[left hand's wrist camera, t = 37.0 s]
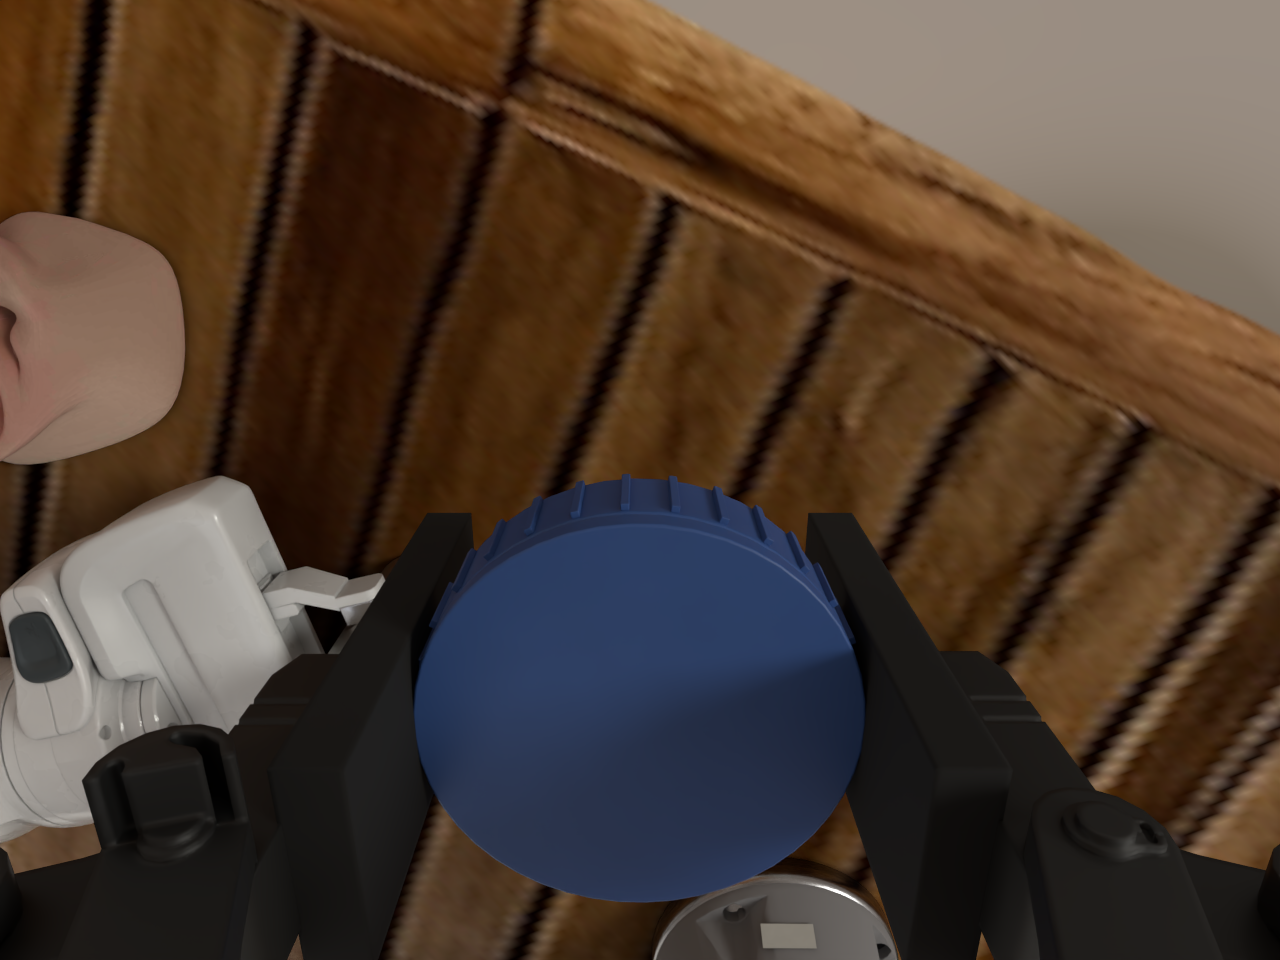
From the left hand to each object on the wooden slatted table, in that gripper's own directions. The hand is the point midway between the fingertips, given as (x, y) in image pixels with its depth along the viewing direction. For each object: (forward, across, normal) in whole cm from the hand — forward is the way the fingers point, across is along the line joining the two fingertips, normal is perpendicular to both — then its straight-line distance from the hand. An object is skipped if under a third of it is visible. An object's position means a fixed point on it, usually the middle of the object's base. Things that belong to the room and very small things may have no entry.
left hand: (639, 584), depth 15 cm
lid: (-4, 0, 0) cm, 4 cm away
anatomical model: (+26, +28, +1) cm, 38 cm away
